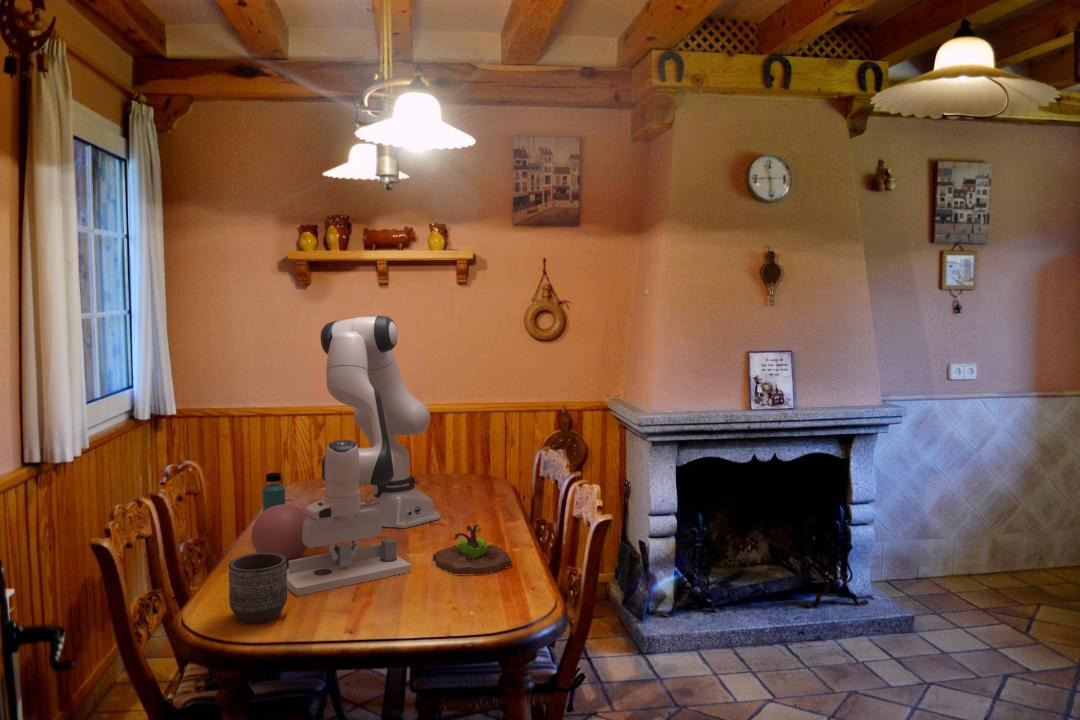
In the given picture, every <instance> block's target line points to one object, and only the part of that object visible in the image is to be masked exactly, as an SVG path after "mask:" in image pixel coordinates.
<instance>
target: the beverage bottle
mask: <svg viewBox="0 0 1080 720" xmlns="http://www.w3.org/2000/svg"><path fill="white" fill-rule="evenodd" d="M281 475H282V474H281V473H280V472H274V471H273V472H269V473H266V476H265V482H268V484H266V485H265V486H264V487H263V488H262V512H264V511H265V510H266V509H268V508H270V507H272V506H275V505H280V504H286V503H287V500H286V487H285V486H284V485H283V484H282V483H278V482H281V480H282V476H281Z"/></svg>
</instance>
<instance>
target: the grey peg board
mask: <svg viewBox="0 0 1080 720" xmlns="http://www.w3.org/2000/svg"><path fill="white" fill-rule="evenodd" d="M408 572H409V573H412V564H411V563H410V562H408V561H406V560H404V559H403V558H402V557H399V556H398V555H397V541H396V540H395V539H394V538H385V539H381V540H380V543H376V544H370V545H366V546H360V547H359V546H358V547H357V549H356V556H355V557H351V565H349V566H345V567H339V566H338V565H336V561H332V560H331V553H330V552H329V553H322V554H318V555H311V556H306V557H301V558H300V557H299V558H297V559H295V560H289V562H288V568H287V590H289V591H290V592H291V593H292V594H294V595H295V596H296V597H301V596H302V597H303V596H306V595H310V594H316V593H320V592H323V591H325V592H326V591H329V590H334V589H338V587H339V588H343V586H344V587H348V586H347V585H349V586H352V584H353V585H357V583H358V584H361V582H363V583H367V582H371V581H370V580H372V581H376V580H375V579H377V580H380V578H381V579H385V577H386V578H390V577H389V576H391V577H394V576H393V575H395V576H399V575H398V574H400V575H404V574H403V573H405V574H409V573H408ZM319 591H320V592H319ZM315 592H316V593H315Z"/></svg>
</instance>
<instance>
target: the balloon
mask: <svg viewBox="0 0 1080 720" xmlns="http://www.w3.org/2000/svg"><path fill="white" fill-rule="evenodd" d="M307 516H308V514H307V513H306V512H304V511H303V510H302V509H300V508H299V507H298V506H295V505H291V504H280V505H275V506H272V507H270V508H268V509H266V510H265V511H264V512H263V511H262V512H261V513H260V514H259V515H258V517H257V518H256V519H255V521H254V523H253V526H252V529H251V542H252V545H253V548H254V549H255V552H256V553H277V554H281V555H283V556H285V557H286V560H287V563H289V560H295V559H299V558H300V557H301V556H302V555H304V554H305V552H306V551H307V549H309V548H308V547H306V546H305V545H304V544H303V542H302V531H303V523H304V520H305V518H306V517H307Z"/></svg>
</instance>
